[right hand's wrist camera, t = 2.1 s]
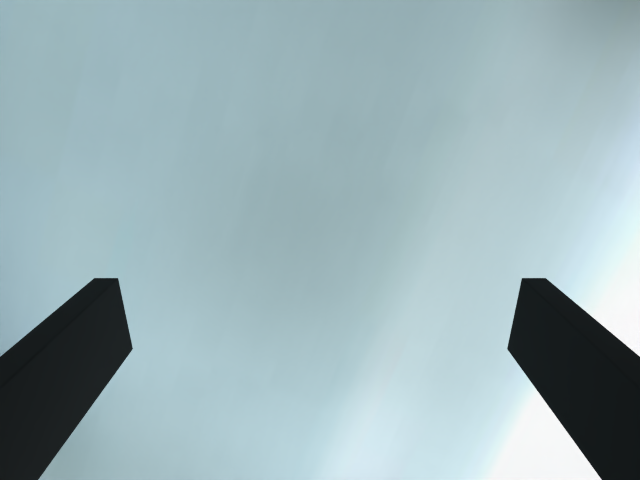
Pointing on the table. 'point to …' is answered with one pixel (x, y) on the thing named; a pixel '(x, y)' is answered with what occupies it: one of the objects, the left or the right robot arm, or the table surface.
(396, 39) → the table surface
